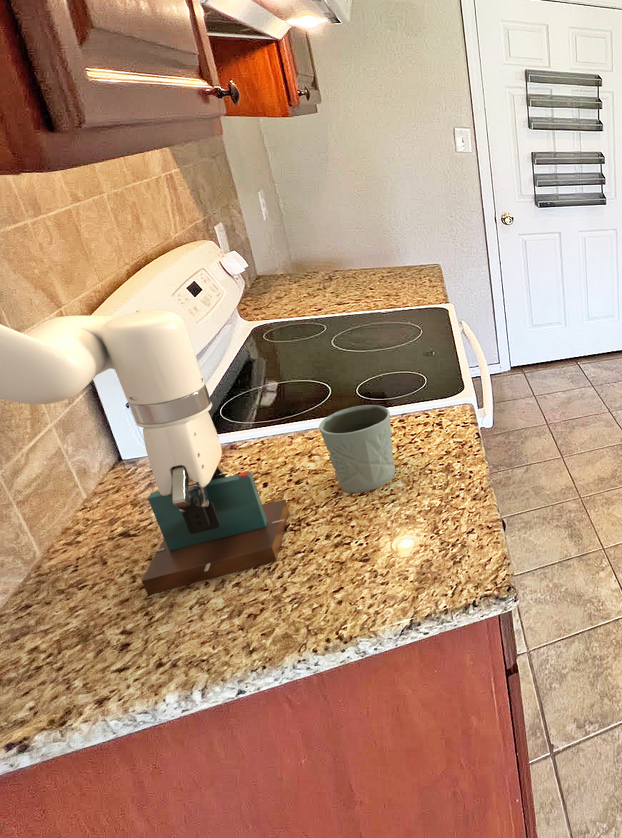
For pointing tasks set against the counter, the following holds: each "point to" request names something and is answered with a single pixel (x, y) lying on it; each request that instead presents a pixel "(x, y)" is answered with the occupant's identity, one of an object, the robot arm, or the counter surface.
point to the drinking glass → (360, 447)
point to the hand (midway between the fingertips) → (212, 513)
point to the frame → (231, 503)
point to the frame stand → (218, 554)
